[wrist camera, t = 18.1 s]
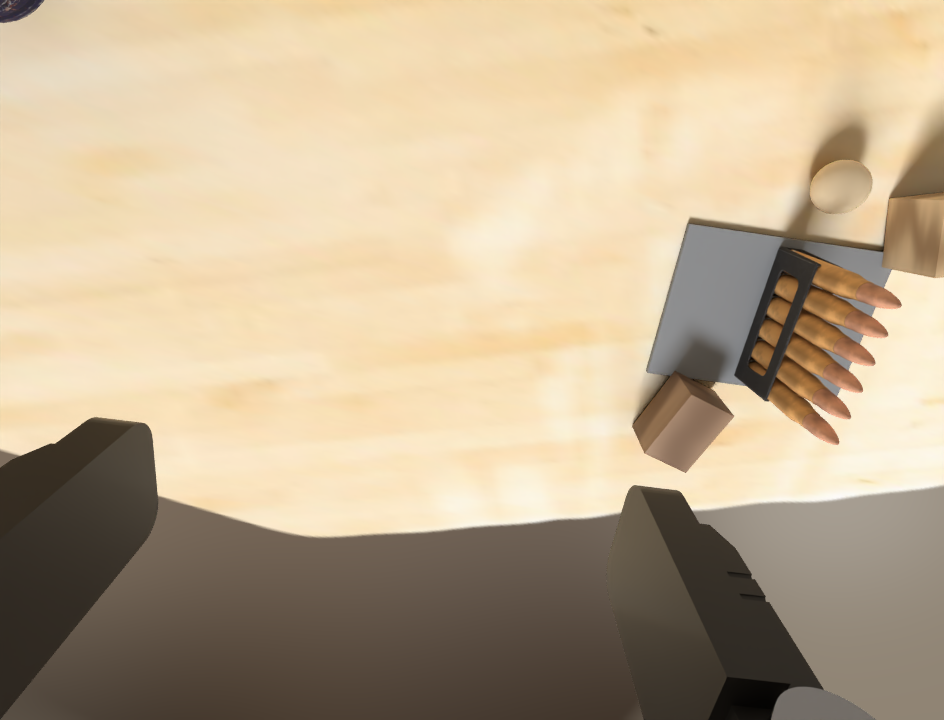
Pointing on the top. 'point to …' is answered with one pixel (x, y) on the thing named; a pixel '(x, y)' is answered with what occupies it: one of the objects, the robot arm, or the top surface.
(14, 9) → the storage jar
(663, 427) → the walnut block
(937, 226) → the oak block
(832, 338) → the ammunition clip
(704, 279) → the pad
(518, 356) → the top surface
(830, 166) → the cork ball
